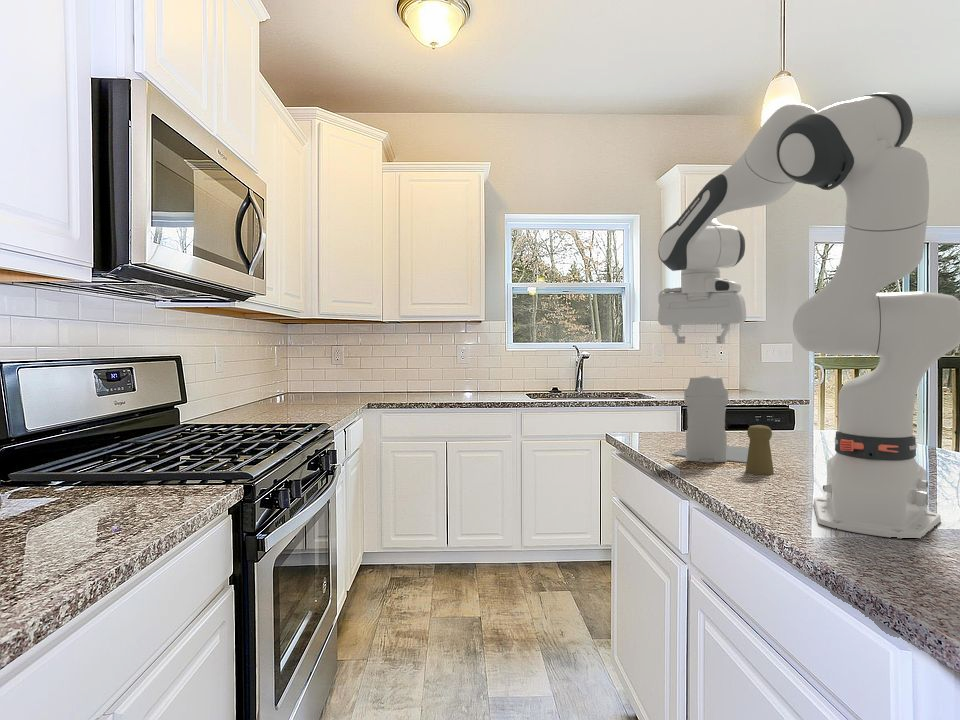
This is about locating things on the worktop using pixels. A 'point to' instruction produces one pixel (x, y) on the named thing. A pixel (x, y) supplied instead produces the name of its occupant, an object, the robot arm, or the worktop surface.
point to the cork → (759, 451)
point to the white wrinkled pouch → (706, 420)
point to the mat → (727, 454)
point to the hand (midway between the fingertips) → (700, 343)
